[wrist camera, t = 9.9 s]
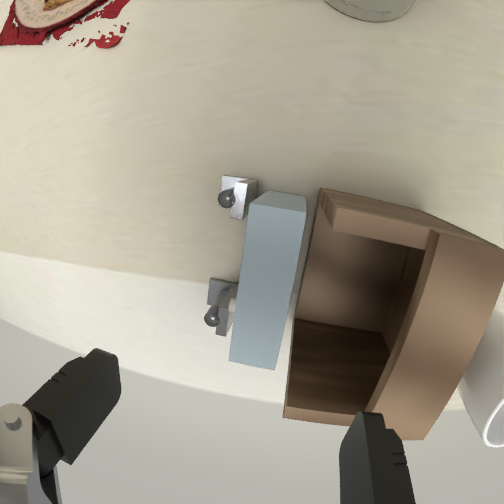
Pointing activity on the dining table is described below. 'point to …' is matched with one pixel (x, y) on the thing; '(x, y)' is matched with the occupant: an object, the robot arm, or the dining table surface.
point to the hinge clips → (220, 292)
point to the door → (266, 277)
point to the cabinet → (387, 314)
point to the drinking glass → (487, 383)
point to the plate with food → (55, 20)
